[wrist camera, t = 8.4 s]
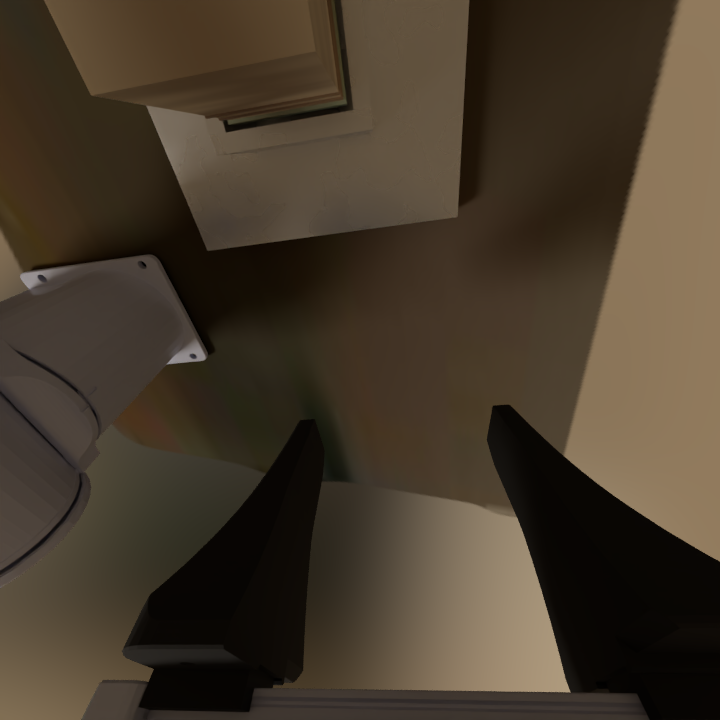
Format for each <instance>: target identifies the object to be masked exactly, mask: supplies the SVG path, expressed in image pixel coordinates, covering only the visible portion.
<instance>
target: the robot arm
mask: <svg viewBox="0 0 720 720" xmlns="http://www.w3.org/2000/svg"><path fill="white" fill-rule="evenodd" d="M141 261H142V262H144V263H145V264H146V267H145V266H143V264H142V262H141ZM20 277H21V280H22V281H23V282H24V284H25V285H26V286H27V287H28V289H29V290H27V291H25V292H22V293H20V294H18V295H15V296H13V297H10V298H8V299H6V300H4V301H1V302H0V588H1V587H3V586H5V585H6V584H8V583H9V582H11V581H13V580H14V579H16V578H17V577H19V576H20V575H22V574H23V573H25V572H26V571H27V570H28V569H30V568H31V567H33V566H34V565H35V564H37V563H38V562H39V561H40V560H41V559H43V558H44V557H45V556H46V555H47V554H48V553H50V552H51V551H52V550H53V549H54V548H55V547H56V546H57V545H58V544H59V543H60V542H61V541H62V540H63V539H64V537H65V536H66V535H67V534H68V533H69V532H70V530H71V529H72V528H73V527H74V526H75V524H76V523H77V521H78V520H79V518H80V517H81V515H82V513H83V512H84V509H85V508H86V506H87V503H88V500H89V497H90V491H91V485H90V480H89V478H88V476H87V474H86V473H85V472H84V471H85V470H86V469H87V468H88V467H89V466H90V465H91V463H92V462H93V461H94V460H95V459H96V457H98V455H99V454H100V452H99V451H98V449H97V448H96V445H95V442H96V440H97V439H98V438H99V437H100V436H101V435H102V434H103V433H104V431H105V430H106V429H107V428H108V427H109V426H110V425H111V424H112V423H113V422H114V421H115V420H116V418H117V417H118V416H119V415H120V414H121V413H122V412H123V411H124V410H125V409H126V408H127V407H128V405H129V404H130V403H131V402H132V401H133V400H134V399H135V398H136V397H137V396H138V395H139V394H140V392H141V391H142V390H143V389H144V388H145V387H146V386H147V385H148V384H149V383H150V382H151V381H152V379H153V378H154V377H155V376H156V375H157V374H158V373H159V372H160V371H161V370H162V369H163V368H164V366H165V365H166V364H174V363H184V362H194V361H203V360H205V359H206V358H207V357H208V352H207V350H206V348H205V347H204V345H203V343H202V341H201V339H200V337H199V335H198V333H197V331H196V329H195V327H194V326H193V324H192V322H191V320H190V318H189V316H188V314H187V312H186V310H185V308H184V306H183V304H182V303H181V301H180V299H179V297H178V295H177V293H176V291H175V289H174V287H173V285H172V283H171V282H170V280H169V278H168V276H167V274H166V272H165V270H164V268H163V266H162V264H161V262H160V261H159V259H158V258H157V257H155V256H154V255H149V254H148V255H140V256H133V257H126V258H119V259H111V260H104V261H97V262H90V263H82V264H75V265H68V266H61V267H53V268H46V269H39V270H31V271H26V272H24V273H21V275H20ZM193 354H195V355H196V356H194V355H193ZM487 442H488V445H489V449H490V452H491V456H492V459H493V462H494V465H495V467H496V470H497V472H498V474H499V477H500V479H501V481H502V484H503V486H504V488H505V491H506V493H507V495H508V498H509V500H510V502H511V504H512V507H513V509H514V511H515V514H516V516H517V518H518V521H519V523H520V526H521V528H522V531H523V534H524V536H525V539H526V542H527V546H528V549H529V551H530V555H531V558H532V561H533V564H534V567H535V571H536V574H537V577H538V580H539V583H540V587H541V589H542V593H543V597H544V600H545V604H546V607H547V610H548V614H549V618H550V621H551V624H552V628H553V632H554V636H555V639H556V643H557V646H558V651H559V654H560V658H561V662H562V666H563V670H564V674H565V678H566V681H567V684H568V686H569V689H570V692H571V693H565V692H564V693H563V692H495V691H494V692H492V691H428V690H427V691H426V690H356V689H289V688H273V685H283V684H284V683H285V682H286V683H288V682H289V683H293V682H295V680H297V678H298V677H299V676H300V674H301V673H302V671H303V655H304V634H305V633H304V632H305V615H306V614H305V613H306V599H307V584H308V572H309V571H308V570H309V560H310V549H311V539H312V532H313V526H314V520H315V515H316V510H317V504H318V499H319V493H320V488H321V482H322V477H323V467H324V447H323V444H322V441H321V438H320V434H319V431H318V428H317V425H316V422H315V419H311V420H300V421H299V422H298V424H297V426H296V428H295V429H294V431H293V433H292V435H291V436H290V438H289V440H288V441H287V443H286V444H285V446H284V448H283V449H282V451H281V452H280V454H279V456H278V457H277V459H276V460H275V462H274V463H273V465H272V466H271V468H270V469H269V470H268V472H267V473H266V475H265V476H264V477H263V479H262V480H261V482H260V483H259V484H258V486H257V487H256V488H255V490H254V491H253V492H252V494H251V495H250V496H249V497H248V499H247V500H246V501H245V502H244V503H243V505H242V506H241V507H240V508H239V509H238V511H237V512H236V513H235V514H234V515H233V516H232V517H231V518H230V520H229V521H228V522H227V523H226V524H225V525H224V526H223V527H222V528H221V530H219V532H218V533H217V534H216V535H215V536H214V537H213V538H212V539H211V540H210V541H209V542H208V543H207V544H206V545H205V546H203V548H201V549H200V551H198V552H197V554H195V555H194V556H193V557H192V558H191V559H190V560H189V561H188V562H187V563H186V564H185V565H184V566H183V567H181V568H180V569H179V570H178V571H177V572H176V573H175V574H173V575H172V576H171V577H170V578H169V579H168V580H167V581H166V582H164V583H163V584H162V585H161V586H160V587H159V588H157V589H156V590H155V591H154V592H153V593H151V595H150V596H149V598H148V599H147V601H146V603H145V605H144V607H143V609H142V610H141V613H140V615H139V617H138V619H137V621H136V623H135V625H134V627H133V629H132V631H131V634H130V636H129V638H128V640H127V642H126V644H125V646H124V649H123V650H122V652H123V655H124V656H125V657H126V658H128V659H130V660H132V661H135V662H137V663H140V664H142V665H145V666H148V667H151V668H153V669H154V670H153V673H152V675H151V678H150V680H149V682H146V681H137V680H103V681H102V682H101V683H99V685H98V687H97V689H96V691H95V693H94V695H93V697H92V699H91V701H90V703H89V705H88V707H87V709H86V711H85V713H84V715H83V717H82V719H81V720H720V562H719V561H718V560H716V559H714V558H712V557H710V556H708V555H707V554H705V553H703V552H701V551H700V550H698V549H696V548H695V547H693V546H691V545H689V544H688V543H686V542H684V541H683V540H681V539H679V538H678V537H676V536H674V535H672V534H671V533H669V532H668V531H666V530H664V529H663V528H661V527H660V526H658V525H657V524H655V523H654V522H652V521H650V520H649V519H648V518H646V517H644V516H643V515H641V514H640V513H638V512H637V511H635V510H634V509H632V508H630V507H629V506H628V505H626V504H625V503H623V502H622V501H620V500H619V499H618V498H616V497H615V496H613V495H612V494H611V493H609V492H608V491H607V490H605V489H604V488H603V487H601V486H600V485H598V484H597V483H596V482H594V481H593V480H592V479H591V478H589V477H588V476H587V475H586V474H584V473H583V472H582V471H581V470H579V469H578V468H577V467H576V466H575V465H573V464H572V463H571V462H570V461H569V460H567V459H566V458H565V457H564V456H563V455H562V454H561V453H559V452H558V451H557V450H556V449H555V448H554V447H553V446H552V445H551V444H550V443H548V442H547V441H546V440H545V439H544V438H543V437H542V436H541V435H540V434H539V433H538V432H537V431H536V430H535V429H534V428H533V427H532V426H530V425H529V424H528V423H527V422H526V421H525V420H524V419H523V418H522V417H521V416H520V415H519V414H518V413H517V412H516V411H515V410H514V409H513V408H512V407H511V406H510V405H497V406H493V408H492V414H491V419H490V425H489V431H488V436H487Z"/></svg>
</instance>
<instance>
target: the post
mask: <svg viewBox="0 0 720 720" xmlns="http://www.w3.org/2000/svg"><path fill="white" fill-rule="evenodd" d="M44 1H45V3H46V5H47V7H48V9H49V11H50V13H51V15H52V17H53V19H54V21H55V23H56V25H57V27H58V29H59V31H60V33H61V35H62V37H63V40H64V42H65V44H66V46H67V48H68V50H69V52H70V54H71V56H72V58H73V60H74V62H75V64H76V66H77V68H78V70H79V72H80V74H81V76H82V78H83V80H84V82H85V84H86V86H87V88H88V90H89V92H90V94H91V96H97V97H102V98H108V99H114V100H119V101H125V102H130V103H136V104H142V105H147V106H153V107H158V108H164V109H170V110H175V111H181V112H186V113H192V114H198V115H203V116H205V118H206V119H210V118H218V119H219V121H224V120H227V121H228V124H229V125H240V124H245V123H251V122H256V121H262V120H268V119H273V118H279V117H285V116H290V115H296V114H301V113H307V112H313V111H318V110H324V109H330V108H335V107H341V106H347V105H348V104H347V96H346V87H345V79H344V70H343V62H342V54H341V45H340V37H339V29H338V20H337V12H336V4H335V0H44Z"/></svg>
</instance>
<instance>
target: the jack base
mask: <svg viewBox="0 0 720 720" xmlns="http://www.w3.org/2000/svg"><path fill="white" fill-rule="evenodd" d="M335 4H336V12H337V20H338V29H339V37H340V45H341V54H342V62H343V70H344V79H345V87H346V96H347V104H348V105H347V106H341V107H335V108H330V109H324V110H318V111H313V112H307V113H301V114H296V115H290V116H285V117H279V118H273V119H268V120H262V121H256V122H251V123H245V124H240V125H229V124H228V121H227V120H224V121H219V119H218V118H210V119H206V118H205V116H203V115H198V114H192V113H186V112H181V111H175V110H170V109H164V108H158V107H153V106H147V105H146V106H147V108H148V110H149V113H150V115H151V118H152V120H153V122H154V125H155V127H156V129H157V132H158V134H159V137H160V139H161V141H162V144H163V146H164V148H165V151H166V153H167V156H168V158H169V160H170V163H171V165H172V167H173V170H174V172H175V175H176V177H177V179H178V182H179V184H180V186H181V189H182V191H183V194H184V196H185V198H186V201H187V203H188V205H189V208H190V210H191V213H192V215H193V217H194V220H195V222H196V224H197V227H198V229H199V232H200V234H201V236H202V239H203V241H204V243H205V246H206V248H207V251H211V250H218V249H226V248H233V247H240V246H248V245H255V244H263V243H270V242H277V241H285V240H292V239H299V238H307V237H314V236H321V235H329V234H336V233H343V232H351V231H358V230H365V229H373V228H380V227H388V226H395V225H402V224H410V223H417V222H424V221H432V220H439V219H446V218H454V217H458V200H459V181H460V163H461V144H462V126H463V107H464V89H465V70H466V52H467V33H468V15H469V0H335Z"/></svg>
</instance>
